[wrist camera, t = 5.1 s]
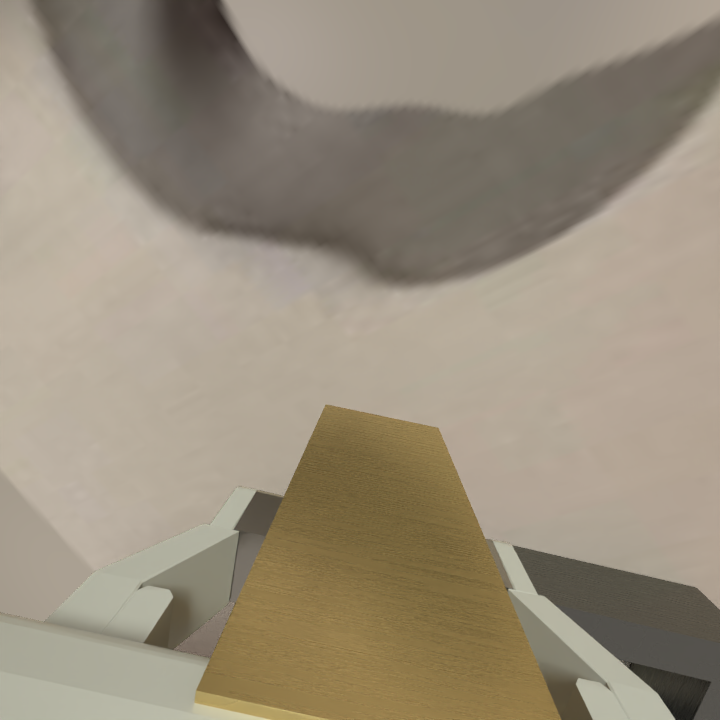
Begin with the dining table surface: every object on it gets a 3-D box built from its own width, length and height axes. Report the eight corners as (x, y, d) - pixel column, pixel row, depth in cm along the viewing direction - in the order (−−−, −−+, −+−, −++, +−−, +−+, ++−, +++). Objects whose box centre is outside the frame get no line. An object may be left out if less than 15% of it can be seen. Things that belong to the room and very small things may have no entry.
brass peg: (306, 504, 13) (163, 936, 4) (325, 404, 12) (195, 691, 4) (412, 527, 13) (479, 1007, 4) (438, 427, 12) (584, 775, 4)
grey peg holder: (282, 628, 24) (260, 694, 20) (306, 498, 22) (287, 542, 18) (639, 716, 23) (691, 805, 19) (696, 587, 21) (768, 656, 17)
